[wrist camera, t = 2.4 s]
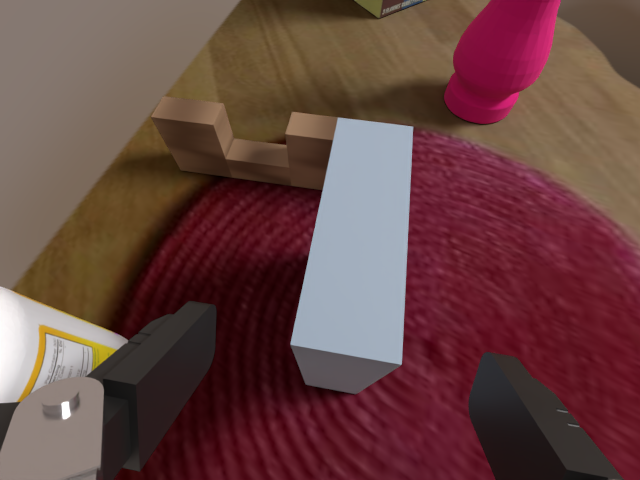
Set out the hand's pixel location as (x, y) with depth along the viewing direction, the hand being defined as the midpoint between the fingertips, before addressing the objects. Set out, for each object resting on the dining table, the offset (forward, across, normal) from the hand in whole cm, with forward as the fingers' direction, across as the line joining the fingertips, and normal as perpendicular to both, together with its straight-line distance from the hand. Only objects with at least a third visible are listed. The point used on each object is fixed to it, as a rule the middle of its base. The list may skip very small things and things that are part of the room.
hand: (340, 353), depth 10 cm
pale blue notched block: (+11, 0, +5) cm, 12 cm away
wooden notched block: (+19, +6, -3) cm, 20 cm away
